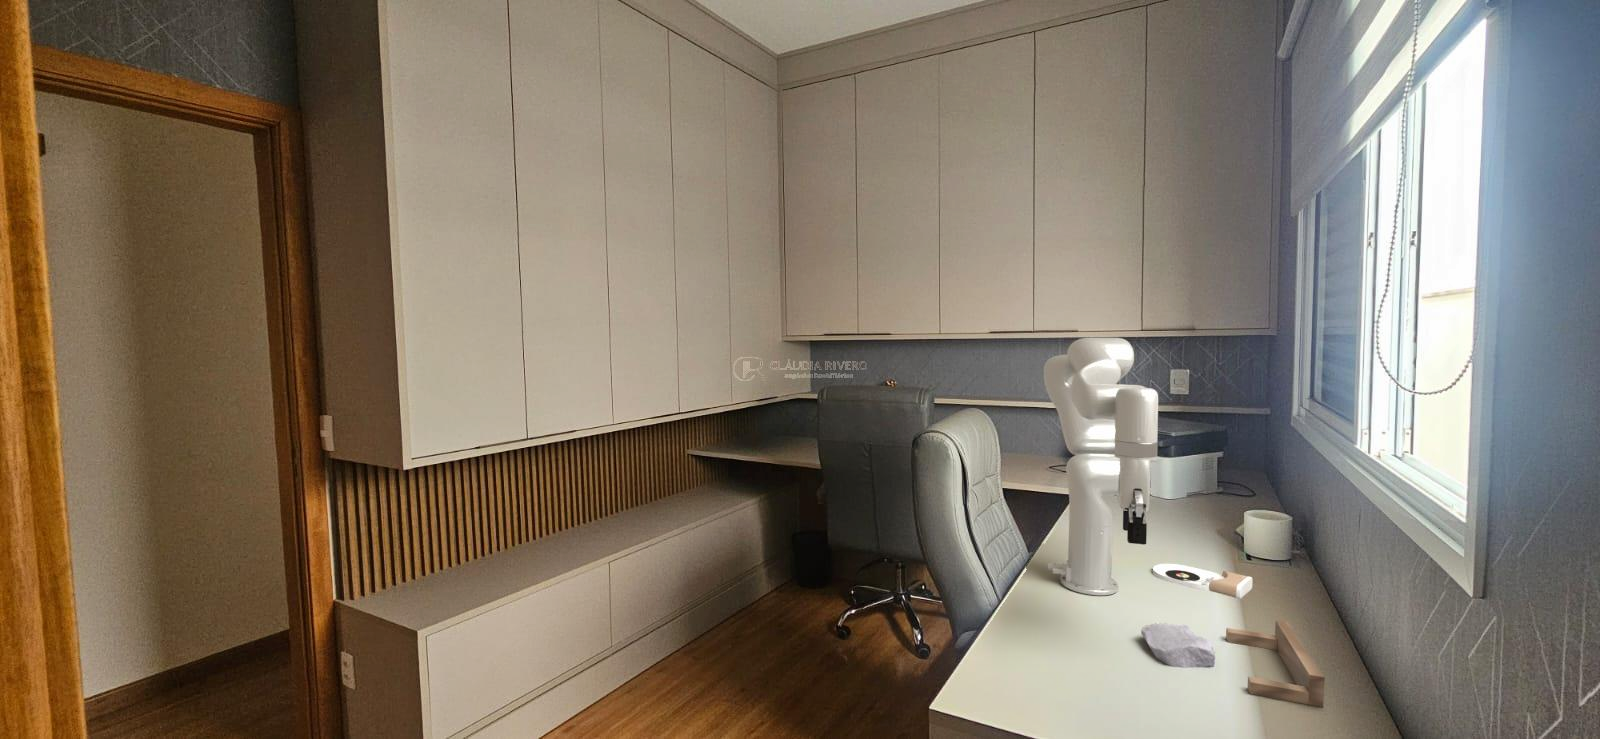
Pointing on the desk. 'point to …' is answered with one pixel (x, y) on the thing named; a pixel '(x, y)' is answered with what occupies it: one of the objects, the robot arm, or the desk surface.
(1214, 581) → the record player
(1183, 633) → the stone block
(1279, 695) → the walnut frame
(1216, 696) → the desk surface
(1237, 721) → the desk surface
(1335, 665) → the desk surface
